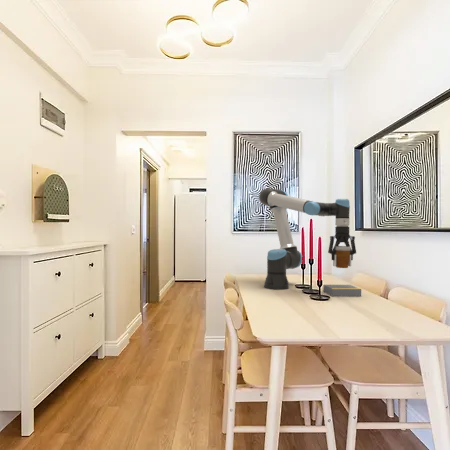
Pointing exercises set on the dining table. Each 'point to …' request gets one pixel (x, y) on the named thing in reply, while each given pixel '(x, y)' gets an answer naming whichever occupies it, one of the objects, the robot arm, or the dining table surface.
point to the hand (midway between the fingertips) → (342, 266)
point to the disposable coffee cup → (342, 256)
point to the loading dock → (342, 290)
